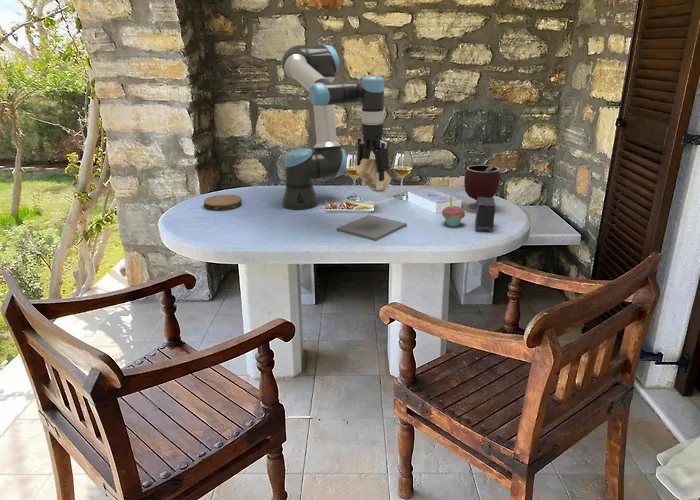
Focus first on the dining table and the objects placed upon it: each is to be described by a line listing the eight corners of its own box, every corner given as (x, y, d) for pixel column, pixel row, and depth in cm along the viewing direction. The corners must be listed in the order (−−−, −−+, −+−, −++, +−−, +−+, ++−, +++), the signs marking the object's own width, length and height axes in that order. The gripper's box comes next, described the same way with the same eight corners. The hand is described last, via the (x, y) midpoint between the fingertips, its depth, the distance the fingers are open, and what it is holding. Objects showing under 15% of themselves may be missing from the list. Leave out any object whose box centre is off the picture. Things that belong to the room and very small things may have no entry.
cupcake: (451, 229, 192) (453, 198, 188) (436, 223, 199) (438, 193, 194) (468, 225, 196) (471, 194, 192) (453, 219, 203) (455, 189, 199)
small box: (493, 232, 189) (496, 205, 185) (475, 231, 190) (477, 204, 186) (492, 223, 198) (494, 197, 194) (474, 222, 199) (476, 196, 196)
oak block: (372, 191, 193) (355, 172, 185) (379, 177, 195) (362, 158, 186) (385, 192, 189) (368, 173, 181) (391, 178, 191) (375, 159, 182)
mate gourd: (456, 205, 220) (460, 158, 213) (486, 202, 223) (490, 156, 216) (473, 216, 206) (477, 167, 199) (504, 213, 209) (510, 164, 202)
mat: (336, 230, 193) (336, 228, 192) (368, 217, 207) (368, 214, 207) (375, 240, 182) (375, 238, 182) (406, 225, 196) (406, 223, 196)
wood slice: (202, 212, 216) (201, 205, 214) (206, 202, 230) (205, 195, 229) (241, 210, 218) (240, 203, 217) (242, 200, 232) (242, 193, 231)
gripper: (400, 124, 175) (399, 190, 184) (361, 119, 189) (361, 180, 198) (385, 127, 171) (384, 194, 179) (346, 121, 185) (346, 184, 193)
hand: (372, 187), depth 189 cm, fingers closed on oak block, 7 cm apart
